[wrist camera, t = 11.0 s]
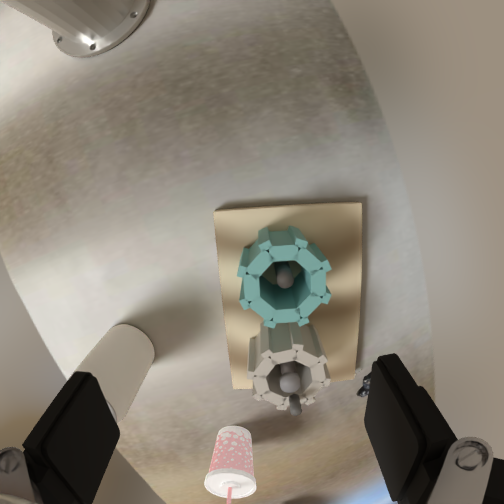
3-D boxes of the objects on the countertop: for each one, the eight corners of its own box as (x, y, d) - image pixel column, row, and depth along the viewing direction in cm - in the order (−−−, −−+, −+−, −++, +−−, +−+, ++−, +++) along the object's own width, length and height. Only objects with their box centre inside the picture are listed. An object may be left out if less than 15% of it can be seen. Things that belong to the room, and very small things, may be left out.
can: (147, 321, 34) (105, 383, 22) (161, 368, 36) (131, 437, 24) (99, 323, 34) (49, 379, 23) (115, 368, 36) (76, 430, 24)
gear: (242, 324, 32) (237, 368, 24) (313, 307, 32) (328, 348, 24) (259, 379, 34) (259, 428, 26) (323, 365, 33) (338, 412, 26)
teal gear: (238, 228, 30) (233, 242, 24) (317, 223, 30) (331, 236, 24) (244, 302, 32) (241, 330, 26) (318, 296, 31) (331, 323, 26)
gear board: (215, 210, 31) (205, 218, 25) (357, 201, 30) (378, 208, 25) (234, 381, 36) (230, 414, 30) (350, 371, 35) (363, 402, 29)
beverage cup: (212, 419, 37) (198, 504, 24) (259, 423, 38) (259, 510, 24) (211, 447, 39) (199, 526, 25) (254, 451, 39) (253, 531, 25)
